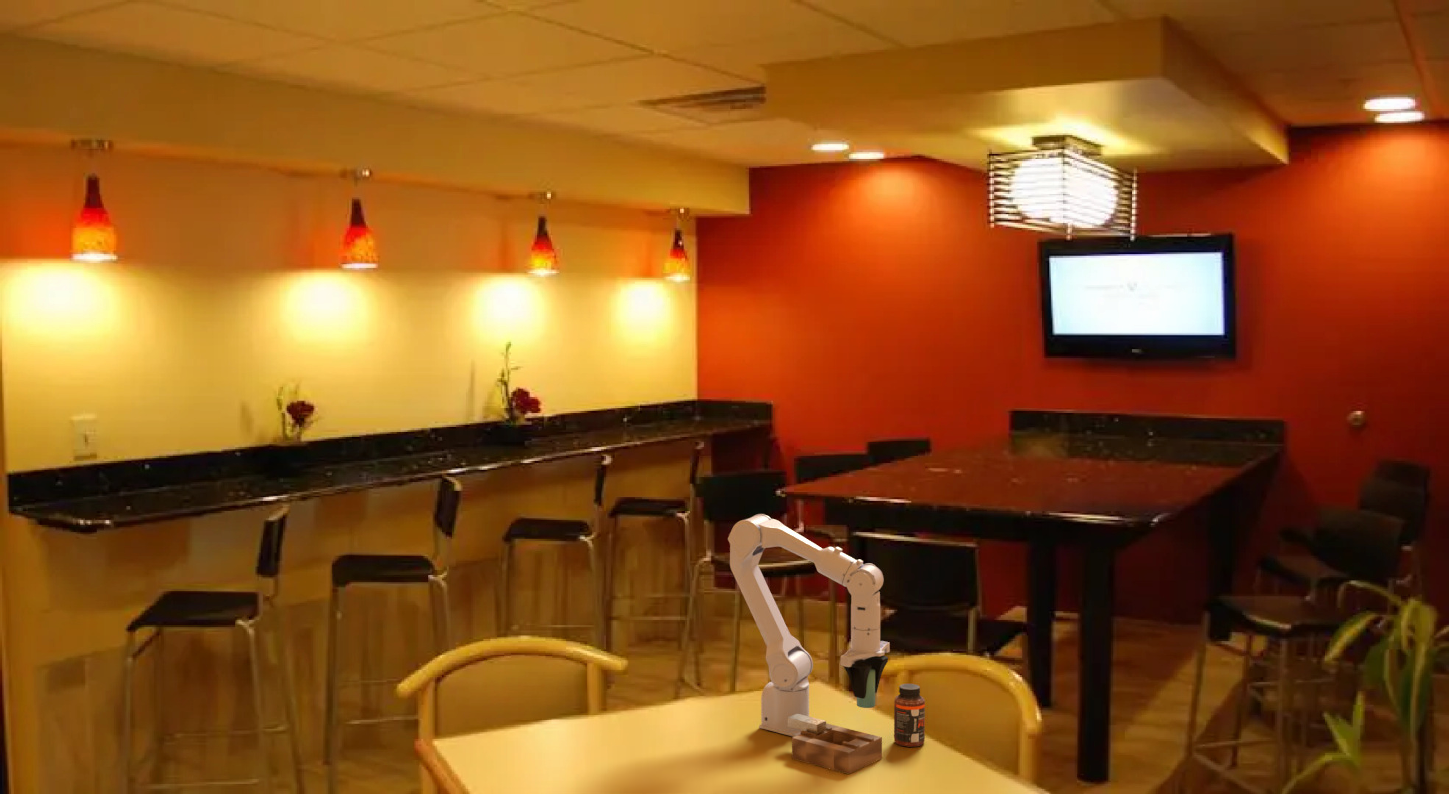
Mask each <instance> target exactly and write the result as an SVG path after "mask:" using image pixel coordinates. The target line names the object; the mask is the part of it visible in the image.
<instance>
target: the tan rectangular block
mask: <svg viewBox="0 0 1449 794" xmlns="http://www.w3.org/2000/svg"><path fill="white" fill-rule="evenodd" d="M826 723H827V720H824V719H820V718H817V717H813V716H810V715H809V716H805V715H801V714H795V715H793V716H790V717H788V727H792V728H795V729H799V730H803V731H807V732H811V733H815V734H818V733H821V732H823V731H825V730H826Z"/></svg>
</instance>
